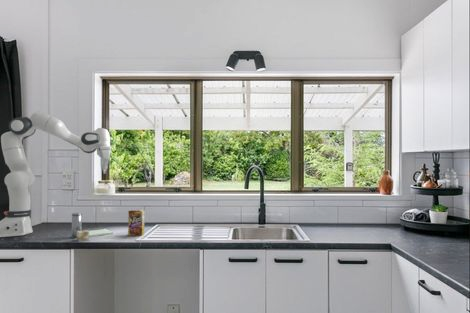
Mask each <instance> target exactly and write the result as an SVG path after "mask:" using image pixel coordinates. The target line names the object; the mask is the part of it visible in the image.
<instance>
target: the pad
mask: <svg viewBox="0 0 470 313" xmlns="http://www.w3.org/2000/svg"><path fill="white" fill-rule="evenodd" d="M88 231H89V238H92V237H99V236H107V235H113V234H114V232H113V231H111V230H109V229H107V228H103V229H94V230H93V229H92V230H88Z"/></svg>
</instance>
